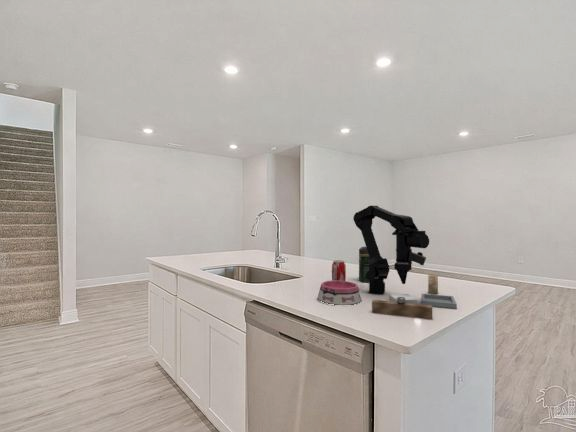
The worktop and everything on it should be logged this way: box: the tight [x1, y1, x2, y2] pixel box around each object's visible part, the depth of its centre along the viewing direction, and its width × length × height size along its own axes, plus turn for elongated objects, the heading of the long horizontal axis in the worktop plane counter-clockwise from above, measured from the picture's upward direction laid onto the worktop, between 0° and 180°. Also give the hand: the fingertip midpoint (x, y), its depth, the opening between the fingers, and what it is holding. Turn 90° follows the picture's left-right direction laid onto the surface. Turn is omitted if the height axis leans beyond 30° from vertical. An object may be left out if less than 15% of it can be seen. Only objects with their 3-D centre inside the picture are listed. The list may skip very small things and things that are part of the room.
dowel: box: [427, 274, 439, 295], centre depth 139 cm, size 4×4×8 cm
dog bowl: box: [317, 280, 363, 306], centre depth 130 cm, size 18×19×7 cm
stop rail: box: [371, 297, 433, 320], centre depth 109 cm, size 20×3×6 cm, turn 67°
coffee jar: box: [358, 246, 370, 283], centre depth 167 cm, size 10×8×19 cm
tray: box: [420, 293, 457, 310], centre depth 123 cm, size 12×12×2 cm
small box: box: [388, 293, 418, 304], centre depth 115 cm, size 8×8×5 cm
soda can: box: [331, 260, 347, 281], centre depth 158 cm, size 7×7×12 cm
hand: (403, 283), depth 127 cm, fingers closed
